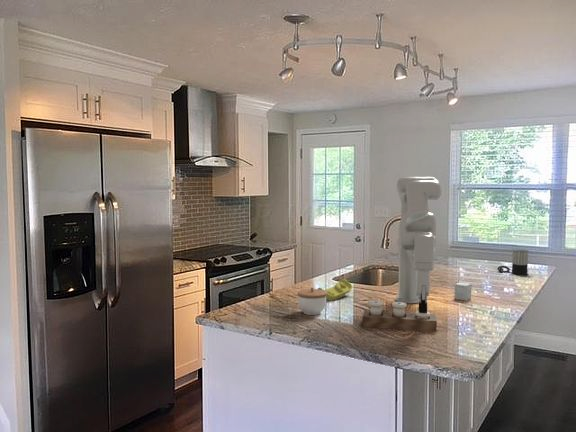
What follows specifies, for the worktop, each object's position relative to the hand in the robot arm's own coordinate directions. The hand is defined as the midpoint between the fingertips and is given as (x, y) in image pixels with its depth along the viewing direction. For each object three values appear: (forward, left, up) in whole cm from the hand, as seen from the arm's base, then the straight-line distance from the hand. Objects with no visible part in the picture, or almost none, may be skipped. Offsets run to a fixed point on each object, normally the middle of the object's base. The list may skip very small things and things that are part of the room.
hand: (422, 312), depth 190 cm
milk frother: (-121, -75, -6) cm, 143 cm away
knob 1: (+15, -10, -2) cm, 18 cm away
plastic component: (+10, -58, -6) cm, 59 cm away
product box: (-47, -32, -6) cm, 57 cm away
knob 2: (+7, -5, -2) cm, 9 cm away
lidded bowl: (+32, -34, -6) cm, 48 cm away
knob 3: (0, 0, -5) cm, 5 cm away
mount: (+7, -5, -6) cm, 11 cm away
